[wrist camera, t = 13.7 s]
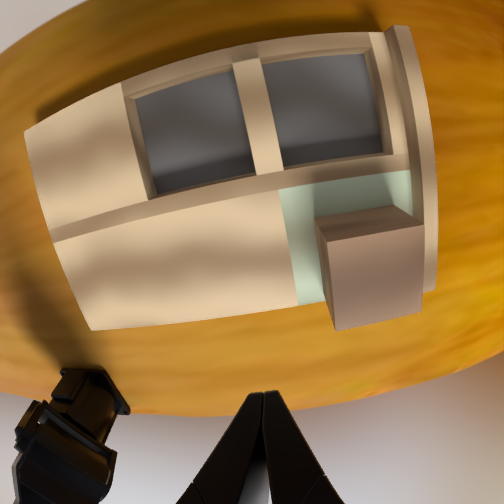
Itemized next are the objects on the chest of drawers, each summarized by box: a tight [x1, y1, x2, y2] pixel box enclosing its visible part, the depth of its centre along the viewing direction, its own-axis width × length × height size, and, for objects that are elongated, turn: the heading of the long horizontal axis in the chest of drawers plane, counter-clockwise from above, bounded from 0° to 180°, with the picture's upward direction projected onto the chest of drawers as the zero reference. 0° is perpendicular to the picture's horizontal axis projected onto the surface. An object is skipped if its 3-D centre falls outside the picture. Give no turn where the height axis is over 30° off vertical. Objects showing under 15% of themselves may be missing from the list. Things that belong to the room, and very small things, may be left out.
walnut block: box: [314, 205, 425, 331], centre depth 16 cm, size 5×5×4 cm
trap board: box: [24, 25, 438, 331], centre depth 17 cm, size 16×25×4 cm, turn 102°
